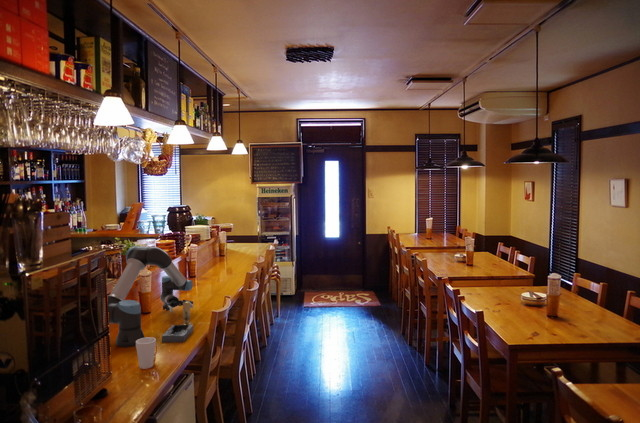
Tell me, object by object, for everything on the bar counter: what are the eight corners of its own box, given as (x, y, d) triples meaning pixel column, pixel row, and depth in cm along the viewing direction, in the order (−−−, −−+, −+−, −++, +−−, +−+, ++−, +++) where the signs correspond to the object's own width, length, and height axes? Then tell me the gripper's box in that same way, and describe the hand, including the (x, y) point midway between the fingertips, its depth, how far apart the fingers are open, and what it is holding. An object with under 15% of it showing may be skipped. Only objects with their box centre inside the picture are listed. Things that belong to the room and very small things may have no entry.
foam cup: (156, 368, 217) (156, 342, 216) (136, 371, 213) (135, 345, 213) (156, 361, 226) (155, 336, 225) (136, 363, 222) (135, 338, 221)
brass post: (179, 325, 282) (179, 302, 281) (188, 323, 287) (188, 300, 286) (184, 327, 278) (184, 304, 277) (193, 325, 282) (193, 302, 282)
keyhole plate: (172, 330, 272) (172, 324, 271) (193, 330, 272) (193, 324, 272) (162, 342, 252) (161, 335, 252) (183, 342, 252) (183, 335, 252)
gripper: (189, 303, 314) (200, 310, 297) (153, 309, 299) (163, 317, 282) (189, 293, 313) (200, 299, 296) (153, 298, 299) (162, 305, 282)
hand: (182, 308), depth 289 cm, fingers open, 13 cm apart
